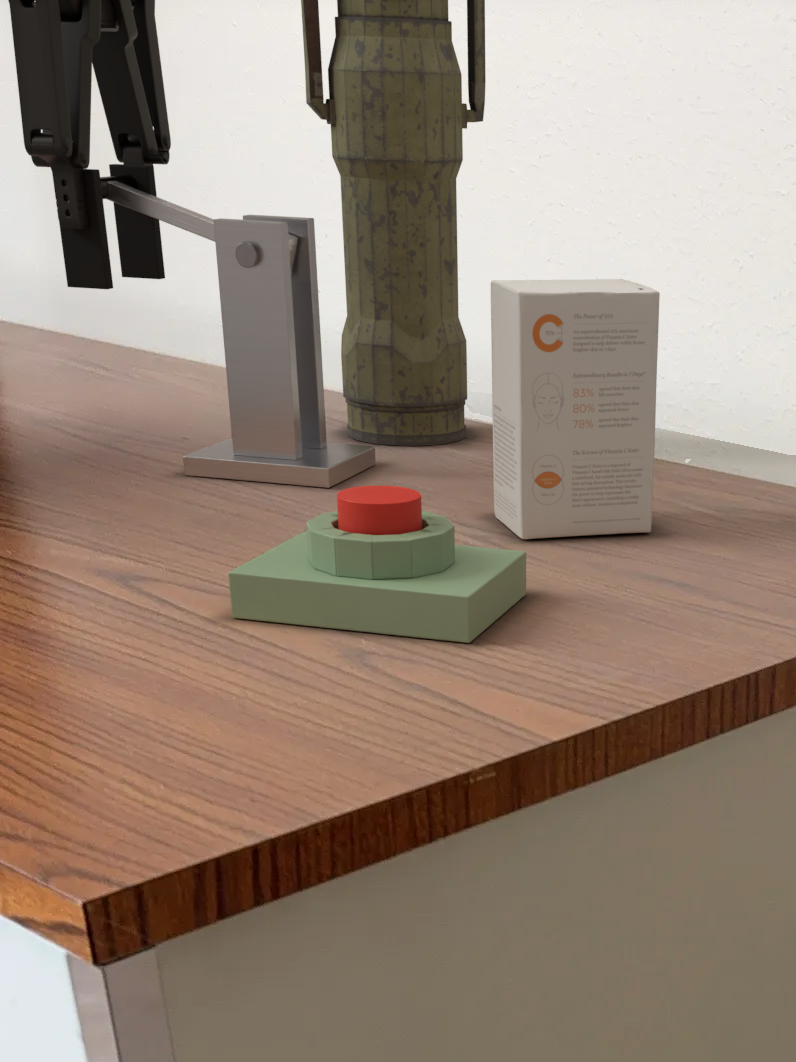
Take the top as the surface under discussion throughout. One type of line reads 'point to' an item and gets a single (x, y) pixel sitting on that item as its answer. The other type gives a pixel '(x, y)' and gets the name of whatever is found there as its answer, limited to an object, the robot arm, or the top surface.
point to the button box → (380, 582)
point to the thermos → (399, 208)
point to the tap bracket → (273, 361)
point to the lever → (165, 209)
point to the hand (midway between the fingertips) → (117, 281)
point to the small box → (573, 405)
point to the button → (379, 510)
